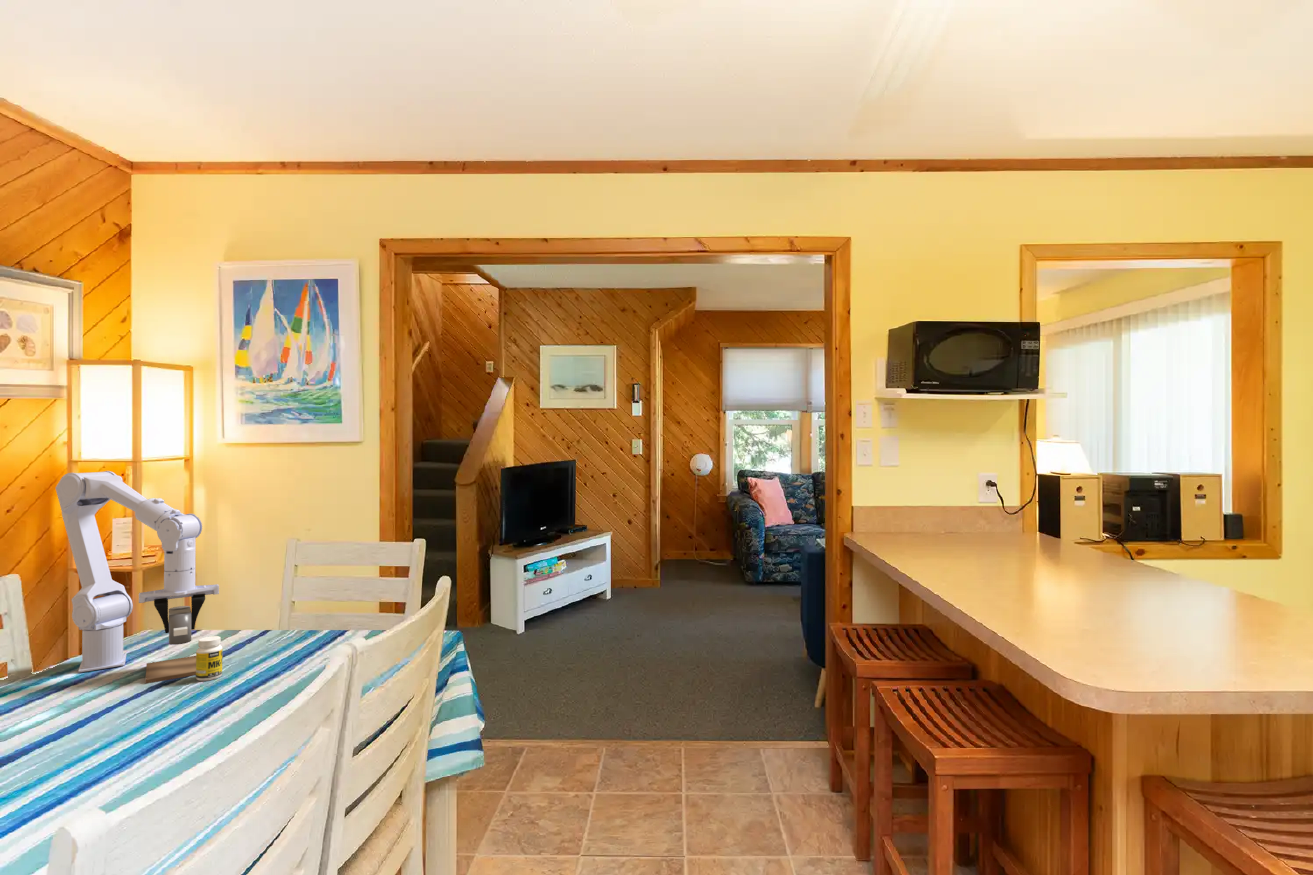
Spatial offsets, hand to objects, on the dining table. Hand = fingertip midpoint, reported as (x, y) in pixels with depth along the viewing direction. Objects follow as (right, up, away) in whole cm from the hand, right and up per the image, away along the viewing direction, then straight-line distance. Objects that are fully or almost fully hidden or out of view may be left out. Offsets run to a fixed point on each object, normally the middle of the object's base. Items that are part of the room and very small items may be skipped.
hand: (179, 630), depth 150 cm
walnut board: (0, -9, 0) cm, 9 cm away
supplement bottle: (+10, -9, -5) cm, 14 cm away
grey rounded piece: (+1, -2, -1) cm, 2 cm away
